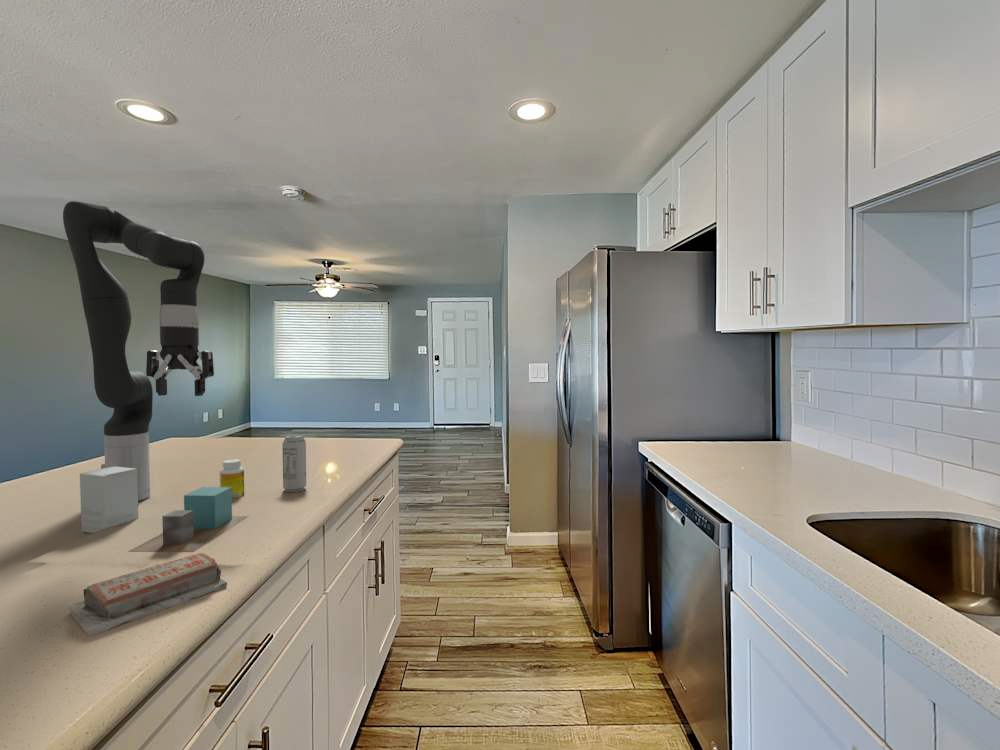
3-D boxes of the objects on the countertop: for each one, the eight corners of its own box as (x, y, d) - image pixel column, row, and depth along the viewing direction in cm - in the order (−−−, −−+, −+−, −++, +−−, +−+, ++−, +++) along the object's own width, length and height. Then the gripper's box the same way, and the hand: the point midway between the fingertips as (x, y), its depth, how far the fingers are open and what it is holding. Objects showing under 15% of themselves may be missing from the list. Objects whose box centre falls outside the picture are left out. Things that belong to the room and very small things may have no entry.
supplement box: (140, 524, 110) (138, 468, 109) (103, 536, 102) (102, 475, 102) (116, 520, 112) (115, 465, 111) (79, 531, 105) (78, 472, 104)
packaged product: (200, 546, 87) (227, 560, 81) (200, 573, 87) (228, 589, 81) (67, 583, 72) (88, 604, 66) (67, 616, 72) (89, 640, 66)
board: (128, 559, 91) (127, 521, 91) (195, 522, 111) (195, 491, 111) (193, 559, 91) (192, 522, 91) (248, 522, 111) (248, 491, 111)
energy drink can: (310, 488, 139) (310, 435, 138) (291, 493, 134) (291, 439, 133) (297, 485, 142) (297, 433, 142) (278, 490, 137) (277, 436, 137)
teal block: (184, 528, 103) (183, 495, 103) (203, 518, 109) (202, 487, 109) (215, 528, 103) (214, 495, 103) (232, 518, 109) (231, 487, 109)
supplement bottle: (246, 500, 128) (246, 461, 127) (222, 504, 124) (221, 464, 124) (241, 495, 132) (241, 457, 132) (218, 499, 129) (217, 460, 128)
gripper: (136, 324, 111) (138, 396, 111) (200, 324, 110) (201, 397, 111) (159, 326, 118) (161, 394, 119) (219, 326, 118) (220, 394, 119)
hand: (180, 395), depth 115 cm, fingers open, 8 cm apart
